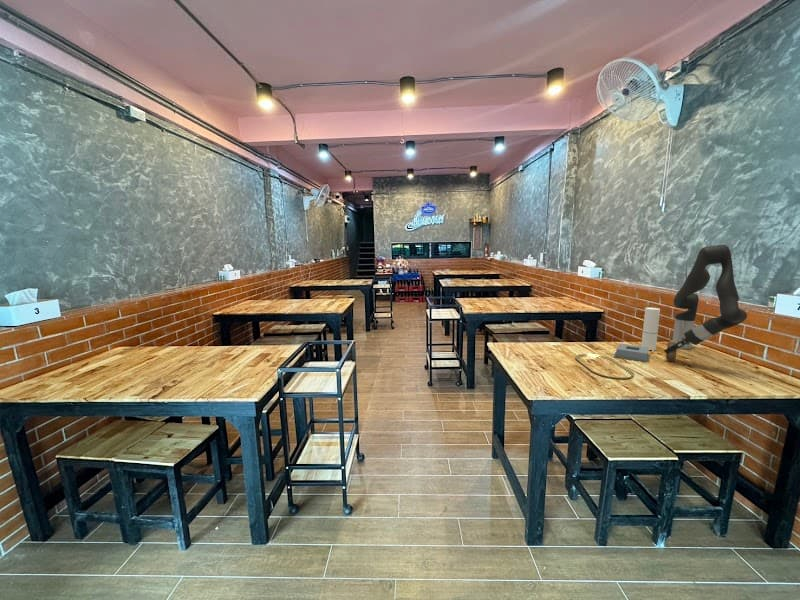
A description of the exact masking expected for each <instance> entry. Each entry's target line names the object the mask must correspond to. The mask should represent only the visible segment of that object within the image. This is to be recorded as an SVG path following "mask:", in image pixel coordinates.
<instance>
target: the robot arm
mask: <svg viewBox="0 0 800 600" xmlns="http://www.w3.org/2000/svg"><path fill="white" fill-rule="evenodd" d="M732 259H733V258H732V252H731V249H730V247H729V246H728V245H726V244H718V245H717V244H716V245H715V244H714V245H709V246H703V247H702V248H700V250H699V251H698V253H697V256H696V259H695V261H694V264H693V266H692V268H691V270H690V271H689V274H688V275H687V276H686V278H685V280H684V282H683V285H682V286H681V287H680V289H679V290H678V291H677V293H676V294H675V296H674V298H673V305H674V307H675V308H678V309H686V310H685V311H684V312H679V313H678V312H677V313H676V314H675V318H674V324H673V334H672V341H671V342H676V343H674V345H673V346H675V347H676V349H675V348H674V347H673V346H671V347H670V348H668V349H667V348H666V349H665V350H664V353H665V355H666V354H668V353H670V352H672V351H675V350H679V349H680V350H692V347H693V345H694V346H697V345H699V344H701V343H703V342H704V341H707V340H708V339H710V338H712V337H713V336H715V335H717V334H718V333H721V332H722V331H724V330H726V329H729V328H732V327H736V326H737V325H740V324H741V323H744V321H745V320H747V317H748V313H747V312H746V311H745V310H744V309H741V308H739V307H740V306H739V303H738V302H739V301H740V297H739V292H738V289H737V287H736V283H735V279H734V278H735V277H734V269H733V268H734V267H733V260H732ZM716 264H720V265H721V273H720V276H719V277H718V279H717V282H716V284H715V290H716V295H717V297H718V300H719V311H720V313H719V314H720V316H717V317H712V318H710V319H707V320H706V321H704V322H702V323H700V324H698V325H696V324H695V323H696V318H697V311H698V308H699V301H700V297H699V295H698V294H697V293H698V292H700V291H702V290H703V289H705V288H706V286H707V285H708V283H709V281H710V280H711V274H710V273H709V271H708V269H707V266H709V265H716ZM695 325H696V326H695Z"/></svg>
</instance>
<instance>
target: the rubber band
mask: <svg viewBox="0 0 800 600" xmlns="http://www.w3.org/2000/svg"><path fill="white" fill-rule="evenodd" d="M586 356H588V357H586ZM589 356H590V357H589ZM596 357H599V358H598V359H601V358H603V359H602V360H605V359H607V360H606V361H608V360H609V361H608V362H610V361H611V362H613V363H614V364H616V365H617V366H616V365H615V366H616V367H618V366H619V367H620V368H619V367H618V368H619V369H621V368H622V369H624V370H625V371H626V373H627V372H628V373H627V374H628V375H629V374H630V375H631V376H630V375H629V376H630V377H629V376H622V377H621V376H612V375H606V374H602V373H601V372H597V371H595V370H593V369H591V368H590V367H589V366H588V365H586V364H585V363H583V362H582V361H581V360H580V358H596ZM575 359H576V360H577V362H579V363H581V365H583V367H586V368H587V369H588V370H590V371H591V372H593V374H595V373H596V375H598V376H600V375H601V377H603V376H605V377H604V378H608V377H609V379H613V378H615V379H616V380H629V379H631V378H633V377H634V375H635V373H634V371H632V370H631V369H630V368H628V367H626V366H624V365H623V364H621V363H619V362H617V360H615V359H613V358H610V357H609V356H605V355H600V354H592V353H582V354H577V355H575ZM611 362H610V363H611ZM613 363H612V364H613ZM614 364H613V365H614ZM622 369H621V370H622ZM624 370H623V371H624ZM625 371H624V372H625Z"/></svg>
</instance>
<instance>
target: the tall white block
mask: <svg viewBox="0 0 800 600" xmlns="http://www.w3.org/2000/svg"><path fill="white" fill-rule="evenodd" d="M660 314H661V308H657V307H645V309H644V315H643V317H644V318H643V326H642V327H643V328H642V336H641V345H640V346H642V347H648V350H656V351H657V342H658V333H659V324H660Z"/></svg>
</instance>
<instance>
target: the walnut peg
mask: <svg viewBox="0 0 800 600" xmlns="http://www.w3.org/2000/svg"><path fill="white" fill-rule="evenodd" d="M674 343H676V342H672V341H667V347H666V349H668V348H670V347H671V346H673V345H674ZM673 347H674V348H675V349H676V347H675V346H673ZM677 350H678V349H677ZM677 350H675V351H672V352H670V353H668V354H666V353H665V355H666V356H665V359H666V361H671V362H675V361H676V359H677Z"/></svg>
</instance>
